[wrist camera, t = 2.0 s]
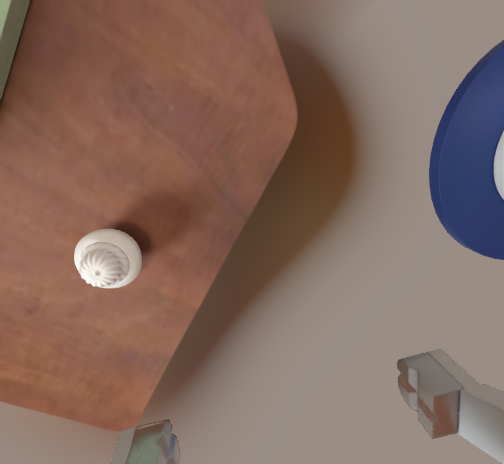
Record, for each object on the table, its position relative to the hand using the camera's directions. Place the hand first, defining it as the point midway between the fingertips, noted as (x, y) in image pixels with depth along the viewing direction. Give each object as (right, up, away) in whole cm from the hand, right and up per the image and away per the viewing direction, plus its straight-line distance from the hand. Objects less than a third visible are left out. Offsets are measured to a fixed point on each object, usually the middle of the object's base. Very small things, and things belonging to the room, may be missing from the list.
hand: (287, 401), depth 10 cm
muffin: (-16, +4, +22) cm, 27 cm away
